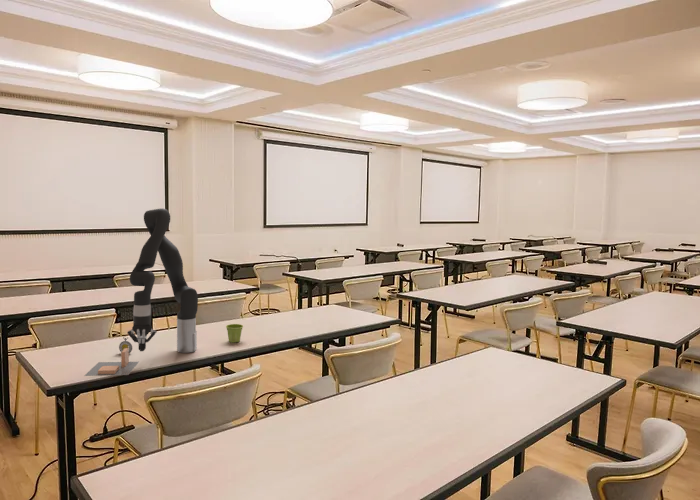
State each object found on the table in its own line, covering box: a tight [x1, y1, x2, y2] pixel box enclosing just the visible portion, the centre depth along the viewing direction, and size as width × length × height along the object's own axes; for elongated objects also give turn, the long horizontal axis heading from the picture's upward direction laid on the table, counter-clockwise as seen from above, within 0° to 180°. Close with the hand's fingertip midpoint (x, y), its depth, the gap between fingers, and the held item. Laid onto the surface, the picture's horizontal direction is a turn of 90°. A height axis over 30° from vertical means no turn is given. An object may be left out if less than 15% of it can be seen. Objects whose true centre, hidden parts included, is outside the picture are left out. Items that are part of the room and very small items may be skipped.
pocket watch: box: [118, 335, 133, 354], centre depth 244 cm, size 8×8×10 cm
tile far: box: [120, 347, 130, 367], centre depth 230 cm, size 2×6×7 cm, turn 9°
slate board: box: [84, 361, 140, 377], centre depth 226 cm, size 18×18×1 cm
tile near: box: [98, 366, 119, 374], centre depth 221 cm, size 2×6×7 cm
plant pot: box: [225, 323, 244, 344], centre depth 278 cm, size 9×9×9 cm
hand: (142, 350), depth 231 cm, fingers closed
